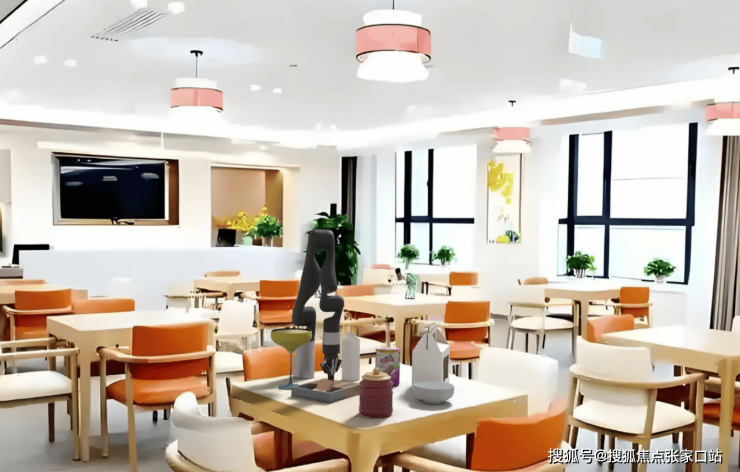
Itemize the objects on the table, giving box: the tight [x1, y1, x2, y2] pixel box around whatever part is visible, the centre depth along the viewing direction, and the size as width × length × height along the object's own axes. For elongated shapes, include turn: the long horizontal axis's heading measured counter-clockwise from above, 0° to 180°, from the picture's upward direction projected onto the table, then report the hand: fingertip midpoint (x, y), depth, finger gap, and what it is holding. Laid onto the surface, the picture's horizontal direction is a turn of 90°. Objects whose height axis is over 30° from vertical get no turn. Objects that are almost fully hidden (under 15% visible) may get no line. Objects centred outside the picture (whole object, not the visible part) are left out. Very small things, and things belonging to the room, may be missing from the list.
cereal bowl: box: [413, 381, 455, 405], centre depth 300 cm, size 17×17×7 cm
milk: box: [341, 331, 361, 382], centre depth 341 cm, size 6×6×22 cm
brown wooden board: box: [308, 377, 361, 399], centre depth 314 cm, size 20×12×4 cm, turn 56°
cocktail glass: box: [270, 327, 312, 391], centre depth 324 cm, size 18×18×25 cm
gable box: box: [411, 322, 451, 392], centre depth 329 cm, size 22×13×28 cm, turn 165°
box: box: [290, 382, 347, 404], centre depth 305 cm, size 20×11×4 cm, turn 56°
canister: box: [358, 367, 394, 419], centre depth 279 cm, size 13×13×18 cm
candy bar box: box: [374, 346, 402, 386], centre depth 332 cm, size 11×5×16 cm, turn 84°
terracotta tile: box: [316, 378, 334, 393], centre depth 308 cm, size 6×5×2 cm
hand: (330, 383), depth 311 cm, fingers closed
